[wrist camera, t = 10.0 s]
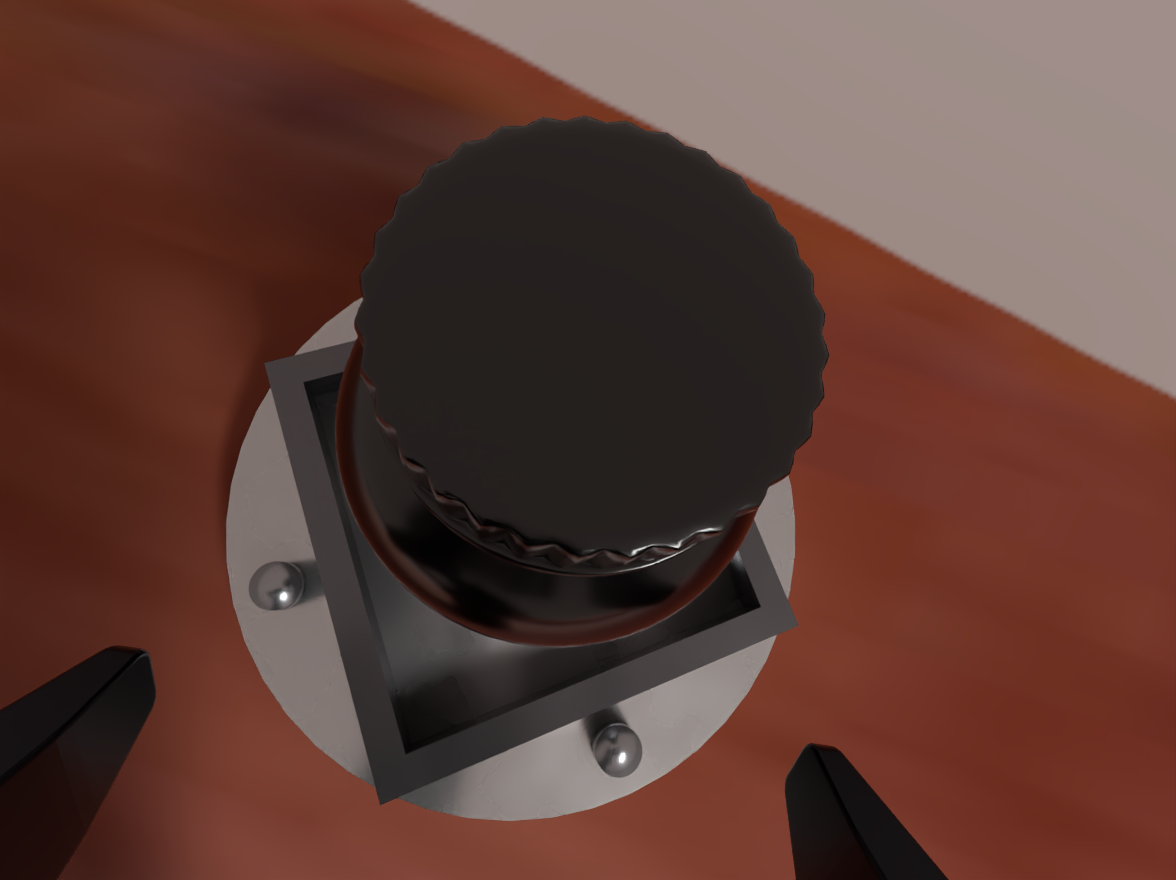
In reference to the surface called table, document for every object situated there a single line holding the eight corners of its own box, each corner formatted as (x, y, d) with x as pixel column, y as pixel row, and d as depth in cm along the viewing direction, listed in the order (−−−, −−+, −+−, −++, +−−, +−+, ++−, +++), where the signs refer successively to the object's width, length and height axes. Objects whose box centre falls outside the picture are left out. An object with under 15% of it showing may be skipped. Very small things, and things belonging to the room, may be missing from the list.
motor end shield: (327, 912, 15) (296, 973, 13) (193, 347, 19) (146, 304, 16) (852, 670, 19) (909, 679, 17) (666, 234, 22) (689, 186, 20)
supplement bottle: (386, 411, 17) (196, 38, 6) (613, 373, 19) (809, 11, 7) (428, 658, 16) (279, 786, 4) (672, 596, 17) (1031, 571, 6)
